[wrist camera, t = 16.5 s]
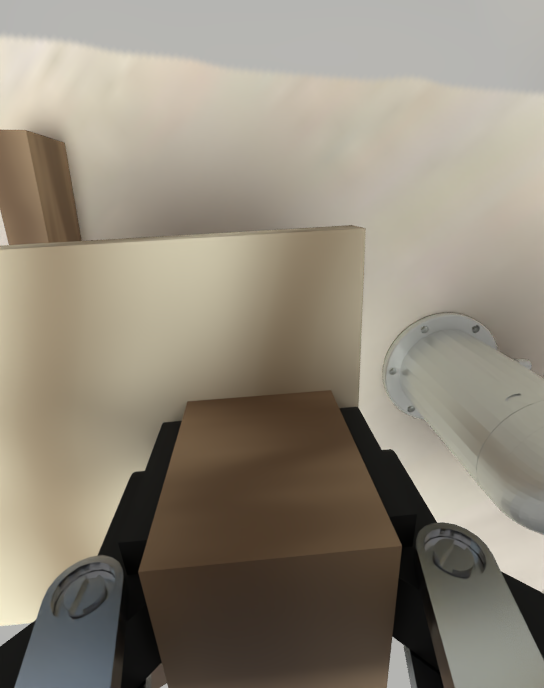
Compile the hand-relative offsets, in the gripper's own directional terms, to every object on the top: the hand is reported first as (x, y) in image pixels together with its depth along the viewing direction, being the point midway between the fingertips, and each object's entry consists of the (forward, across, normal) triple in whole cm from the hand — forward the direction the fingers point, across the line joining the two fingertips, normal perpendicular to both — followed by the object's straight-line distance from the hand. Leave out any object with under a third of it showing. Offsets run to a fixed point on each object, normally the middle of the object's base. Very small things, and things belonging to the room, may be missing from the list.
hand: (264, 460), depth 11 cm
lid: (+2, +6, 0) cm, 6 cm away
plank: (+28, +17, -5) cm, 33 cm away
